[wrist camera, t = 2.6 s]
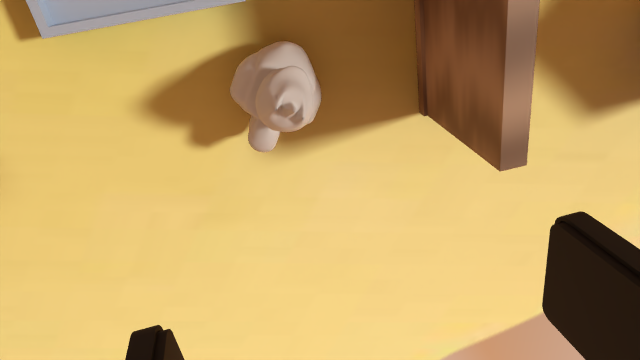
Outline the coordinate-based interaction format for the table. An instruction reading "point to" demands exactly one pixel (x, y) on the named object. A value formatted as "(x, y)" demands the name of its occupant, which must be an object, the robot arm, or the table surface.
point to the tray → (106, 12)
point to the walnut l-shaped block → (479, 73)
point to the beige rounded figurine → (276, 92)
